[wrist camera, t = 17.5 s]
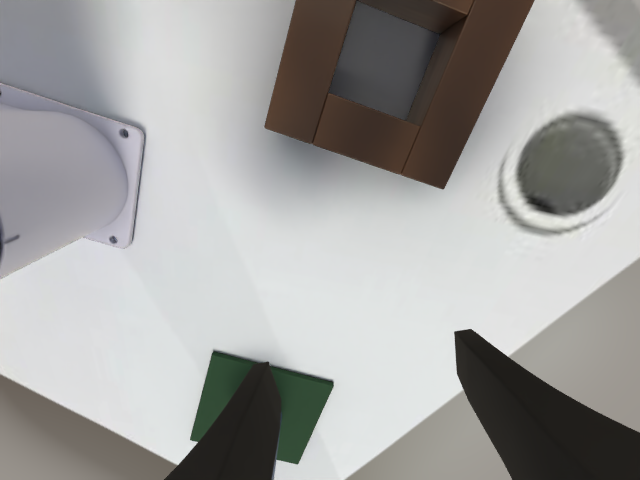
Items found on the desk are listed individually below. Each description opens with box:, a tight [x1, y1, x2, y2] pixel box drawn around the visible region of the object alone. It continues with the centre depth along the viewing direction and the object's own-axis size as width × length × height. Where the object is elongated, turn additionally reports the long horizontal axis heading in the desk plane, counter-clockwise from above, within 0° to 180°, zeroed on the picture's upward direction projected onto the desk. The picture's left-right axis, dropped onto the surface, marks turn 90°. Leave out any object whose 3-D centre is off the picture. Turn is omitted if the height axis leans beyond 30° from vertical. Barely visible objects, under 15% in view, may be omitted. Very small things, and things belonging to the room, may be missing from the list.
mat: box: [190, 352, 334, 464], centre depth 27 cm, size 10×10×1 cm
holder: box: [264, 0, 534, 189], centre depth 16 cm, size 10×10×4 cm
